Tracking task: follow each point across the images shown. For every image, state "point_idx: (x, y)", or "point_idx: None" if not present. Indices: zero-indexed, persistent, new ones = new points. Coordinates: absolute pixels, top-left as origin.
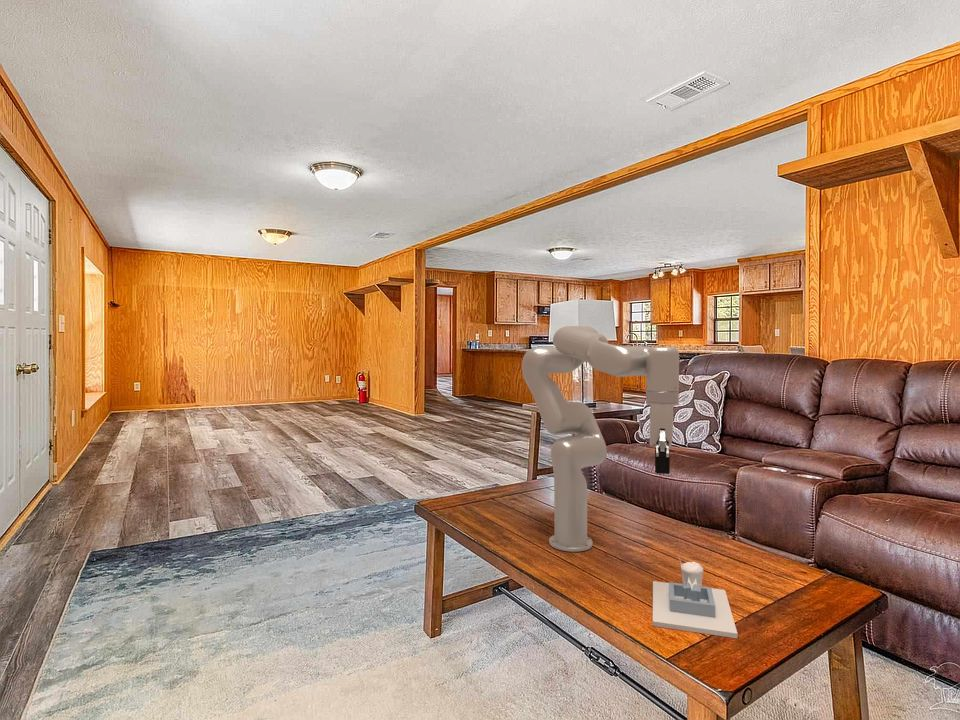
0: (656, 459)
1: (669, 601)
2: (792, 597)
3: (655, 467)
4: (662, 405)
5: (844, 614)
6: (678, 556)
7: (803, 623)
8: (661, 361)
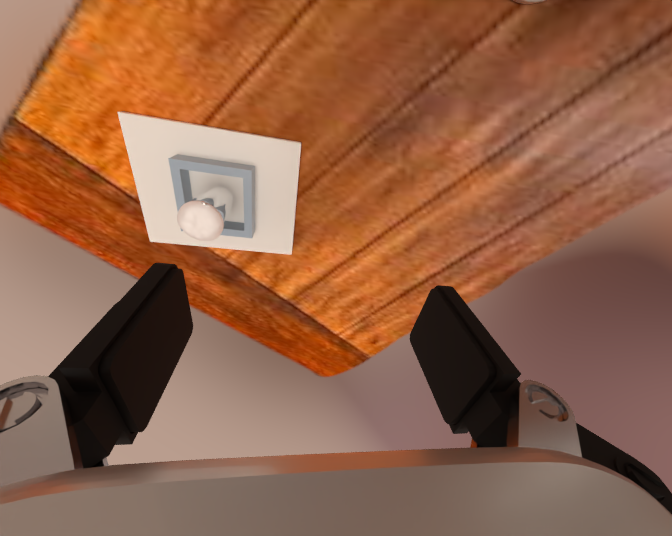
0: (91, 346)
1: (206, 159)
2: (301, 318)
3: (135, 286)
4: None
5: (270, 347)
6: (204, 204)
7: (233, 312)
8: None
